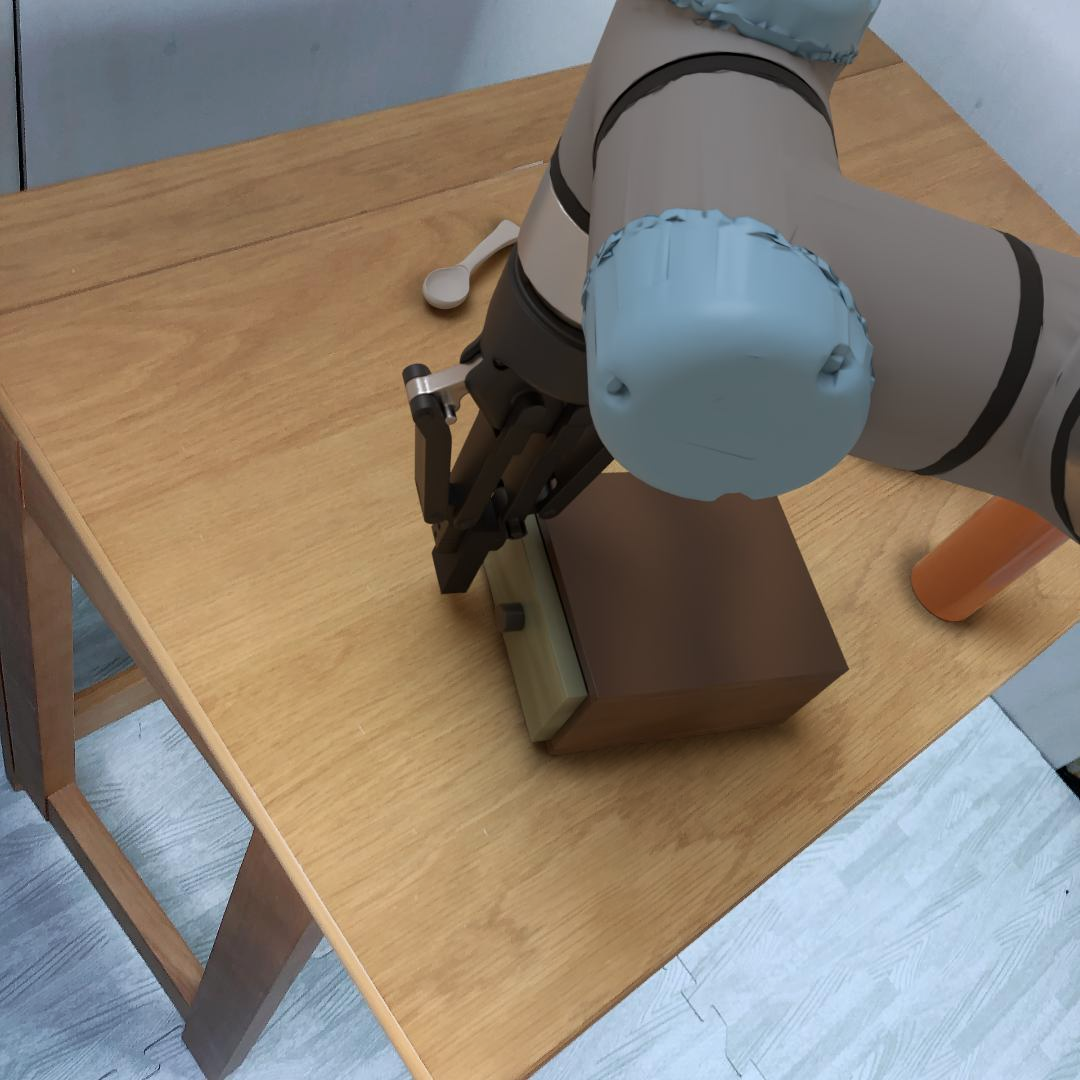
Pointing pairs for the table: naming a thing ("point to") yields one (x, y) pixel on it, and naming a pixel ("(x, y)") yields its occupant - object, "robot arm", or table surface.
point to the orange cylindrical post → (983, 558)
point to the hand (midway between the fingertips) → (448, 572)
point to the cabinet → (684, 614)
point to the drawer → (535, 632)
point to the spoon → (465, 269)
